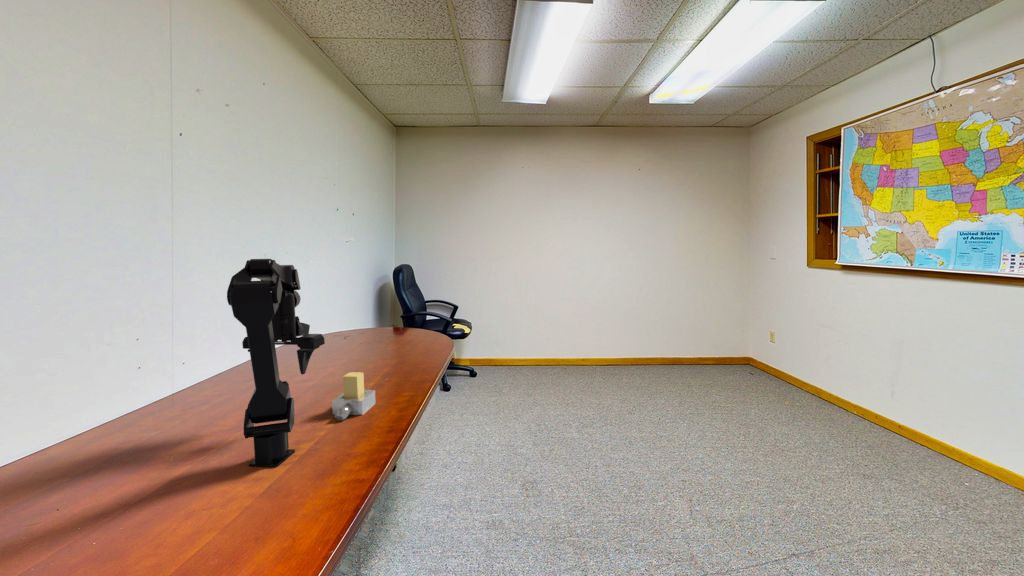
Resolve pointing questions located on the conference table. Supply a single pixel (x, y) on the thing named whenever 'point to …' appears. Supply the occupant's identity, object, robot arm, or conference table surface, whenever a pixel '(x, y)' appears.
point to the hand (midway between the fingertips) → (286, 373)
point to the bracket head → (352, 405)
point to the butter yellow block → (353, 385)
